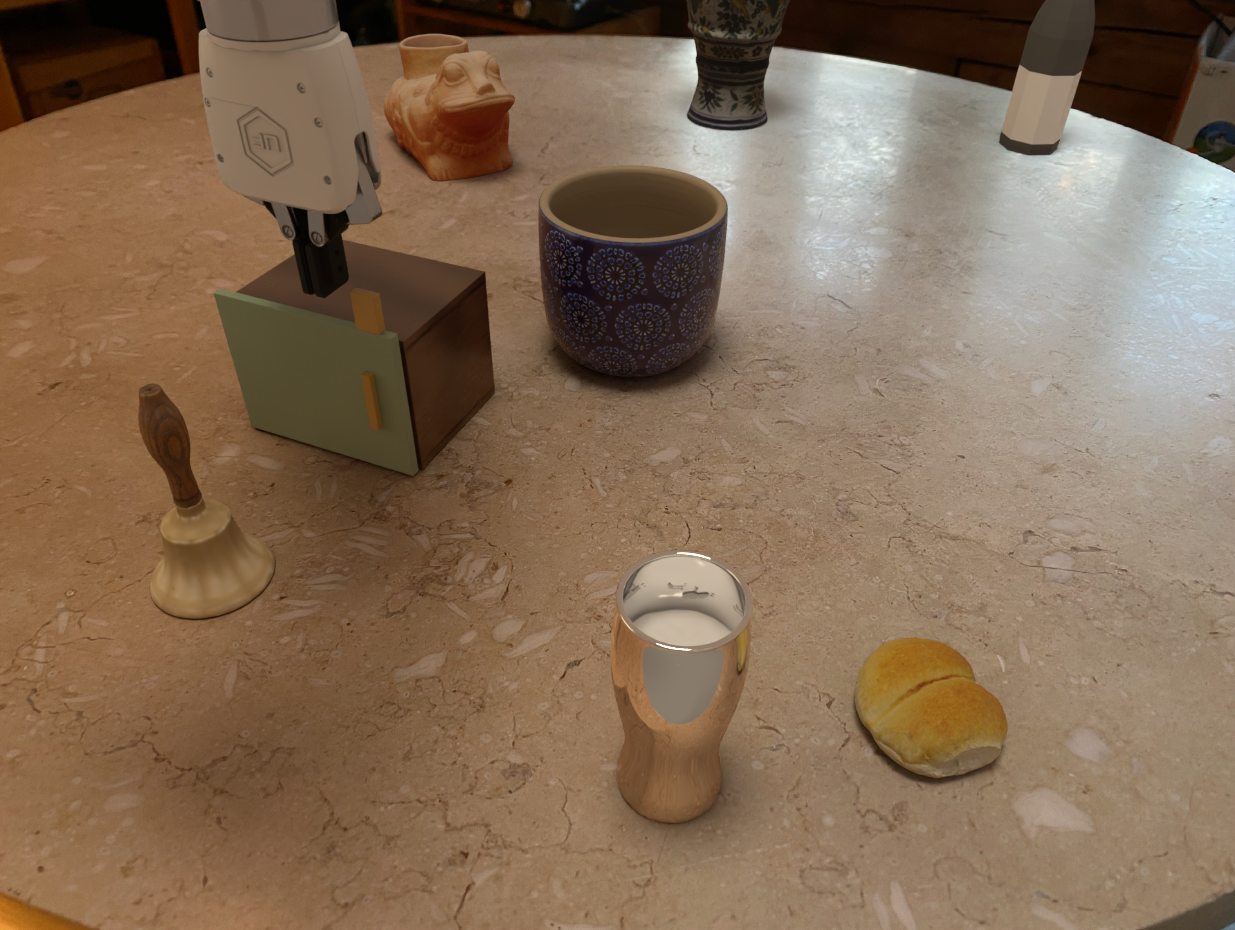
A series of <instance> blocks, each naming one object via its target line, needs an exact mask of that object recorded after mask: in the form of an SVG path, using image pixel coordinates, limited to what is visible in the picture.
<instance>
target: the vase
mask: <svg viewBox="0 0 1235 930" xmlns="http://www.w3.org/2000/svg"><path fill="white" fill-rule="evenodd" d="M685 2H686V8H687V16H688V22H687V27H688V29H689V30H690V32H691V34H692V36H693V41H694V47H695V53H696V56H695V66H696V68H697V82H696V87H695V90H694V93H693V96H692V99H691V102H690V105H689V108H688V110H687V112H686V118H687V120H689V121H690V122H691V123H693V124H695V125H697V126H699V127H703V128H706V129H707V128H708V129H713V130H718V131H719V130H720V131H721V130H722V131H744V130H751V129H756V128H760V127H762V126H763V125H765V124H766V123H767V122H768V120H769V119H768V114H767V107H766V96H765V80H766V75H767V71H768V69H769V66H770V57H771V54H772V50H773V47H774V45H775V42H776V40H777V38H778V36H779V35H781V33H782V30H783V29H782V28H783V26H782V25H783V21H784V18H785V15H786V13H787V9H788V6H789V3H790V2H791V0H685Z"/></svg>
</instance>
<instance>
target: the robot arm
mask: <svg viewBox="0 0 1235 930" xmlns="http://www.w3.org/2000/svg"><path fill="white" fill-rule="evenodd" d="M196 1H197V2H200V7H201V11H202V15H203V19H204V23H205V27H206V28H204V29H202V30H200V31H199V32H198V64H199V65H198V66H199V77H200V85H201V93H202V99H203V106H204V112H205V118H206V122H207V123H206V124H207V128H208V133H209V139H210V144H211V148H212V152H213V156H214V161H215V164H216V168H217V172H218V174H219V178H220V180H221V182H222V183H223V185H224V186H225V187H226V188H227V189H228V190H230V191H232V192H234V193H235V194H237V195H240V196H243V197H244V198H246V199H248V200H249V201H251V202H254V203H256V204H258V205H260V206H264V207H265V209H266V210H267V211H268V212H269V213H270V214H271V215H272V217H274V219H275V220H276V221H277V224H278V227H279V230H280V232H281V235H282V236H283V237H284V238H285V239H286V240H289V241H291V243H292V249H293V254H295V258H296V263H297V267H298V272H299V276H300V281H301V285H302V290H303V292H304V293H305V294H309V295H313V294H316V296H317V297H321V298H326V297H327V296H329V295H330V294H331V293H333V292H334V291H335V290H337V289H338V288H340V287H341V286H342V285H344V284H345V283H346V282H347V281H348V279H349V274H348V267H347V262H346V256H345V251H344V245H343V240H344V239H343V234H344V233H345V232H347V230H348V229H349V226H356V225H357V226H359V225H369V224H371V223H373V222H374V221H375V220H377V219H379V218H380V217H381V216H382V215H383V209H382V205H381V203H380V200H379V198H378V194H377V192H376V190H378V189H379V188H380V187H381V185H382V165H381V157H380V150H379V145H378V138H377V132H376V127H375V123H374V118H373V114H372V109H371V105H370V101H369V97H368V92H367V89H366V85H365V83H364V78H363V75H362V71H361V68H360V65H359V63H358V59H357V55H356V53H355V49H354V47H353V45H352V41H351V39H350V37H349V34H348V33H347V32H345V31H341V26H340V20H339V14H338V8H337V2H336V1H337V0H196Z"/></svg>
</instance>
